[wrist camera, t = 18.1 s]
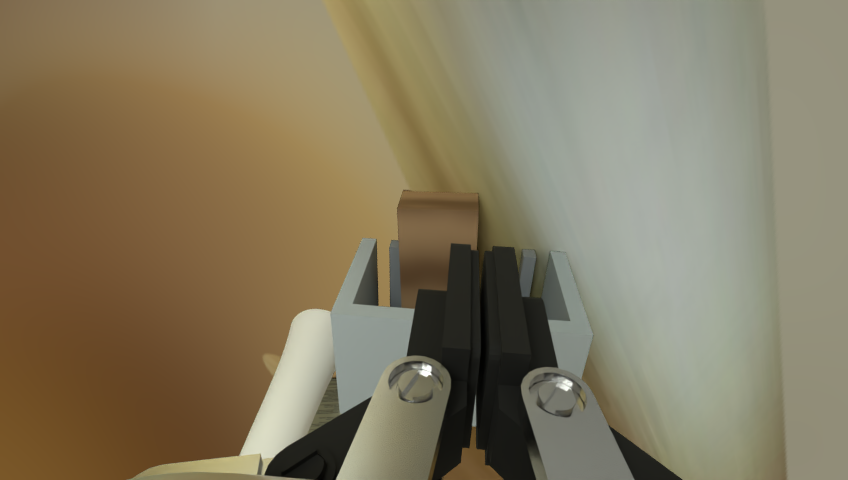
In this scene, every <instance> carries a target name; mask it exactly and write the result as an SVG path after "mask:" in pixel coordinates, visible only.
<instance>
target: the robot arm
mask: <svg viewBox="0 0 848 480" xmlns="http://www.w3.org/2000/svg"><path fill="white" fill-rule="evenodd" d="M475 397H476V448H477V449H483V450H485V465H490V466H491V467H492V468H493V469H494V470H495V471H496V472H497V473H498V474H499V475H500V476H501V477H502V478H503V480H682V479H681V478H680V477H678V476H677V475H675V474H674V473H673V472H671V471H670V470H669V469H667V468H666V467H665V466H663V465H662V464H660V463H659V462H658V461H656V460H655V459H654V458H652V457H651V456H650V455H648V454H647V453H646V452H644V451H643V450H641V449H640V448H639V447H637V446H636V445H635V444H633V443H632V442H631V441H629V440H628V439H626V438H625V437H624V436H622V435H621V434H620V433H618V432H617V431H616V430H614V429H613V428H612V427H610V426H609V425H608V424H607V422H606V419H605V417H604V415H603V413H602V411H601V409H600V407H599V405H598V403H597V401H596V399H595V397H594V394H593V392H592V391H591V390H590V388H589V387H588V385H587V384H586V383H585V382H584V381H583V380H582V379H580V378H579V377H578V376H576V375H574V374H572V373H571V372H569V371H566V370H563V369H560V368H558V363H557V359H556V354H555V350H554V345H553V341H552V336H551V332H550V327H549V323H548V318H547V314H546V309H545V305H544V301H543V299H542V298H534V297H522V293H521V287H520V280H519V274H518V268H517V261H516V255H515V249H514V248H513V247H499V246H493V249H492V251H485V253H484V261H483V270H482V279H481V288H480V286H479V251H478V250H471V245H470V244H456V243H451V247H450V259H449V271H448V283H447V291H443V290H430V289H418V293H417V299H416V305H415V310H414V316H413V322H412V327H411V333H410V339H409V344H408V350H407V356H406V357H402V358H400V359H398V360H395V361H394V362H392V363H391V364H390V365H388V366H387V367H386V369H385V370H384V372H383V373H382V375H381V378H380V380H379V382H378V385H377V387H376V389H375V391H374V394H373V396H371V397H370V398H368V399H366V400H365V401H363V402H361V403H360V404H358V405H356V406H354V407H353V408H351V409H349V410H348V411H346V412H344V413H343V414H341V415H339V416H338V417H336V418H334V419H333V420H331V421H329V422H327V423H326V424H324V425H322V426H321V427H319V428H317V429H316V430H314V431H312V432H311V433H309V434H307V435H306V436H304V437H302V438H300V439H299V440H297V441H295V442H294V443H292V444H290V445H289V446H287V447H286V448H284V449H283V450H282V451H280V452H279V453H278V454H276V456H275V457H274V458H266V459H262V457H261V453H260V454H251V455H243V456H234V457H225V458H217V459H208V460H199V461H190V462H183V463H173V464H165V465H160V466H156V467H153V468H150V469H147V470H146V471H144V472H142V473H140V474H139V475H137V476H135V477H134V478H132V479H129V480H443V478H444V475H446V474H447V473H448V472H449V471H451V470H452V469H453V468H454V467H456V466H457V465H458V464H459V463H461V454H462V447H463V448H469V446H470V438H471V430H472V422H473V413H474V405H475Z"/></svg>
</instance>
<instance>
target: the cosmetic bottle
mask: <svg viewBox="0 0 848 480" xmlns="http://www.w3.org/2000/svg"><path fill="white" fill-rule="evenodd" d="M330 313H331V312H330V311H327V310H323V309H309V310H305V311H303V312H301V313H299V314H298V315H297V316H296V317H295V318H294V319H293V321H292V324H291V328H290V332H289V335H288V339H287V342H286V345H285V348H284V351H283V354H282V357H281V359H280V362H279V365H278V367H277V370H276V372H275V375H274V377H273V380H272V382H271V384H270V387H269V389H268V391H267V394H266V396H265V398H264V401H263V403H262V405H261V408H260V410H259V412H258V414H257V416H256V419H255V421H254V423H253V425H252V428H251V430H250V432H249V435H248V437H247V439H246V441H245V444H244V446H243V448H242V451H241V453H240V456H243V455H251V454H260V453H261V457H262V459H266V458H274V457H275V456H276V454H278V453H279V452H280V451H282V450H283V449H284V448H286V447H287V446H289V445H290V444H292V443H294V442H295V441H297V440H299V439H300V438H302V437H304V436H306V435H307V434H308V431H309V429H310V426H311V424H312V422H313V419H314V417H315V414H316V412H317V410H318V407H319V405H320V403H321V400H322V398H323V396H324V393H325V391H326V389H327V387H328V385H329V383H330V380H331V378H332V376H333V374H334V372H335V370H336V368H335V358H334V347H333V337H332V326H331V316H330Z"/></svg>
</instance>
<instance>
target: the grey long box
mask: <svg viewBox="0 0 848 480" xmlns="http://www.w3.org/2000/svg"><path fill="white" fill-rule="evenodd" d="M389 251H390V307H384V306H378V274H377V240H376V239H370V238H362V241H361V243H360V246H359V248H358V250H357V252H356V255H355V257H354V259H353V262H352V264H351V266H350V269H349V271H348V273H347V276H346V278H345V281H344V283H343V285H342V287H341V290H340V292H339V294H338V297H337V299H336V302H335V304H334V306H333V309H332V311H331V313H330V316H331V326H332V337H333V347H334V358H335V368H336V378H337V389H338V399H339V410H340V413H341V414H343V413H344V412H346V411H348V410H349V409H351V408H353V407H354V406H356V405H358V404H360V403H361V402H363V401H365V400H366V399H368V398H370V397H371V396H373V394H374V391H375V389H376V387H377V385H378V382H379V380H380V378H381V375H382V373H383V372H384V370H385V369H386V367H387V366H388V365H390V364H391V363H392V362H394V361H395V360H398V359H400V358H402V357H406V356H407V350H408V344H409V339H410V333H411V327H412V322H413V316H414V310H415V309H410V308H402V306H401V284H400V261H399V241H398V240H392V241H391V244H390V248H389ZM535 262H536V254H535V250H527V249H522V255H521V261H520V267H519V280H520V287H521V293H522V297H529V296H530V290H531V284H532V279H533V273H534V268H535ZM541 298H542V299H543V301H544V305H545V309H546V314H547V318H548V323H549V327H550V332H551V336H552V341H553V345H554V350H555V354H556V359H557V363H558V368H560V369H563V370H566V371H569V372H571V373H572V374H574V375H576V376H578V377H579V378H580V379H581V378H582V374H583V371H584V367H585V364H586V360H587V356H588V353H589V349H590V346H591V342H592V339H593V332H592V330H591V327H590V324H589V321H588V318H587V315H586V312H585V309H584V306H583V303H582V300H581V297H580V294H579V292H578V289H577V286H576V283H575V280H574V277H573V274H572V271H571V268H570V265H569V262H568V259H567V256H566V254H565V252H555V251H550V255H549V261H548V266H547V271H546V276H545V281H544V286H543V292H542V297H541ZM472 426H476V397H475V405H474V413H473V422H472Z"/></svg>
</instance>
